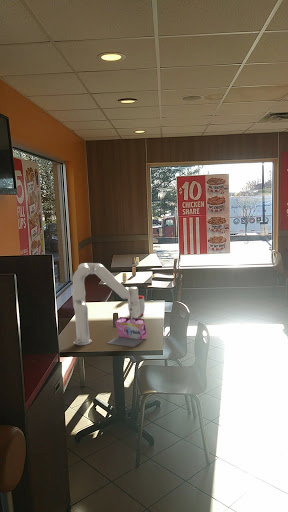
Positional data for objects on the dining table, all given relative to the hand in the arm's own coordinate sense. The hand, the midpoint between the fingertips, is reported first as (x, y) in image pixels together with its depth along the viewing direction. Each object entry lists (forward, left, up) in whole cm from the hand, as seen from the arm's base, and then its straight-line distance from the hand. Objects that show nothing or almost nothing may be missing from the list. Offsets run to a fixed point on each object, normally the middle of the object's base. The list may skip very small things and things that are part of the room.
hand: (135, 325), depth 335 cm
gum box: (-4, 0, -7) cm, 8 cm away
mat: (-16, 0, -8) cm, 17 cm away
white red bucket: (+52, +29, -8) cm, 60 cm away
